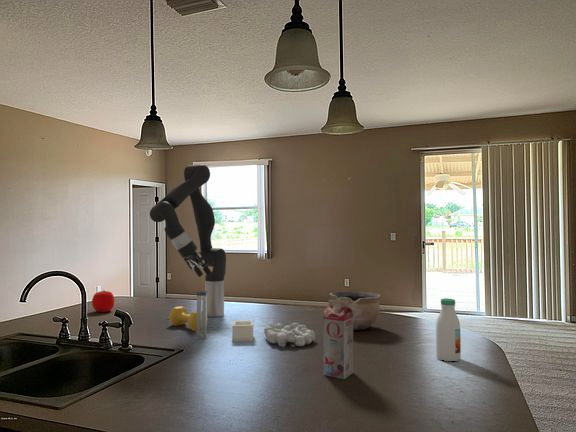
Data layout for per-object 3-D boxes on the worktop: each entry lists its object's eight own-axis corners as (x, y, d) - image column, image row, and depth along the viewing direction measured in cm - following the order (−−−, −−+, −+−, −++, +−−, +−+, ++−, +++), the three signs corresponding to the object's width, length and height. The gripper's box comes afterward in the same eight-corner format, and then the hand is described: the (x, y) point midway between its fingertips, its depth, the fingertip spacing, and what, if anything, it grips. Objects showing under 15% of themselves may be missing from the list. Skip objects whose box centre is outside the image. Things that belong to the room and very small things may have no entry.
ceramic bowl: (322, 331, 181) (322, 295, 181) (336, 320, 201) (336, 288, 202) (375, 336, 173) (375, 299, 173) (384, 324, 193) (384, 291, 193)
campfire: (249, 340, 167) (250, 325, 167) (286, 331, 183) (286, 317, 183) (291, 353, 152) (291, 336, 152) (327, 341, 168) (327, 326, 168)
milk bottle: (449, 363, 139) (448, 302, 140) (431, 357, 146) (430, 298, 146) (465, 360, 143) (465, 300, 143) (447, 354, 150) (447, 296, 150)
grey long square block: (197, 336, 172) (198, 291, 172) (206, 336, 172) (206, 291, 172) (196, 339, 168) (196, 292, 169) (205, 339, 169) (205, 292, 169)
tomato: (109, 313, 216) (109, 292, 216) (88, 313, 216) (88, 292, 216) (117, 309, 227) (118, 289, 227) (98, 309, 227) (98, 289, 227)
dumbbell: (209, 329, 184) (209, 310, 185) (191, 333, 178) (191, 313, 178) (184, 322, 197) (184, 304, 197) (166, 326, 191) (167, 307, 191)
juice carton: (344, 379, 125) (344, 303, 125) (323, 375, 129) (323, 301, 129) (353, 372, 131) (353, 300, 131) (333, 368, 134) (333, 298, 135)
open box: (233, 335, 173) (233, 321, 173) (253, 335, 174) (253, 320, 174) (232, 341, 165) (232, 325, 165) (252, 341, 166) (253, 325, 166)
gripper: (197, 236, 178) (219, 268, 181) (184, 241, 190) (204, 271, 193) (183, 247, 174) (206, 279, 177) (170, 251, 185) (192, 281, 188)
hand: (205, 275), depth 185 cm, fingers open, 8 cm apart
